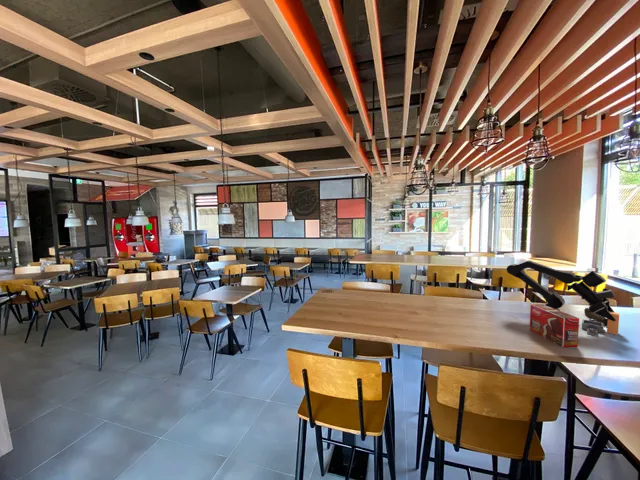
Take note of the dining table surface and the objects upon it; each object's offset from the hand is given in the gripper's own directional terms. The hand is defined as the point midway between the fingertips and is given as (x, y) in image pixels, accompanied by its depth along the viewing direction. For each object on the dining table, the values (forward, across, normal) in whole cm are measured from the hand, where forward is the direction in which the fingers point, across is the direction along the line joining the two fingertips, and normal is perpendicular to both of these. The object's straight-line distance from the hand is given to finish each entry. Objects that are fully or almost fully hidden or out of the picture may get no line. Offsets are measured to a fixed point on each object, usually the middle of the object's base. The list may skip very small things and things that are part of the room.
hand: (615, 318), depth 131 cm
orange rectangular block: (+5, 0, +6) cm, 7 cm away
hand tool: (-1, +18, +12) cm, 22 cm away
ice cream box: (-8, -31, +19) cm, 37 cm away
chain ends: (0, -1, +11) cm, 11 cm away
